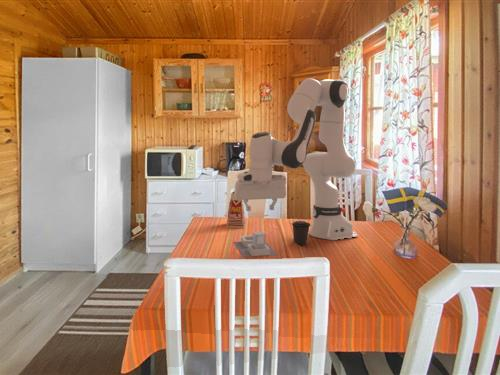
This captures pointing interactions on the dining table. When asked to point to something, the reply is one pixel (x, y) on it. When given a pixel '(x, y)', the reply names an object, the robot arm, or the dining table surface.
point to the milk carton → (236, 213)
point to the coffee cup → (300, 232)
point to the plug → (258, 240)
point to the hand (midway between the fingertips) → (260, 210)
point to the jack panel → (248, 251)
